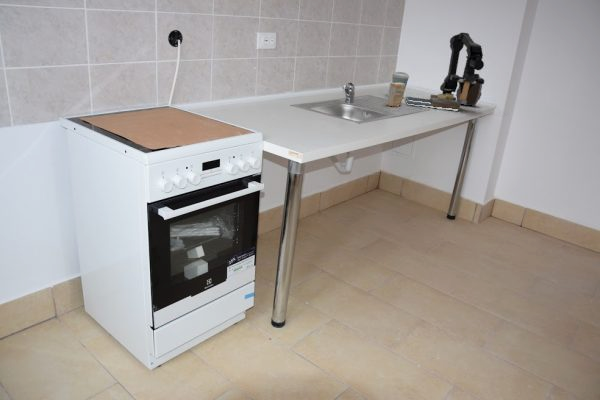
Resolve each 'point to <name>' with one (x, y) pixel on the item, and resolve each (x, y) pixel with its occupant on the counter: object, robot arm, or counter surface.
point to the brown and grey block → (464, 93)
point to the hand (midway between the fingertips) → (463, 93)
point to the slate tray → (418, 100)
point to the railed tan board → (444, 102)
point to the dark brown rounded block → (472, 94)
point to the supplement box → (395, 94)
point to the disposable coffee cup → (400, 78)
